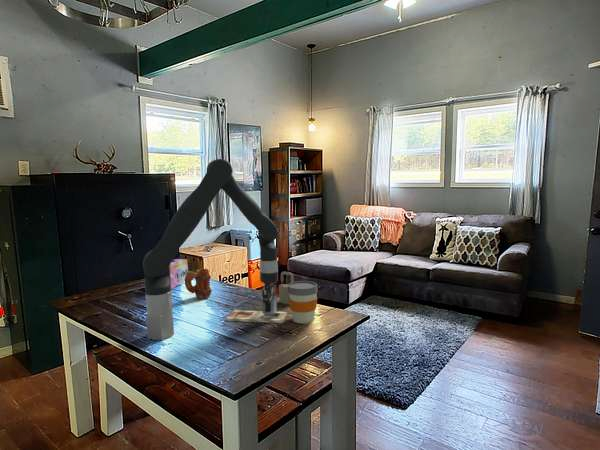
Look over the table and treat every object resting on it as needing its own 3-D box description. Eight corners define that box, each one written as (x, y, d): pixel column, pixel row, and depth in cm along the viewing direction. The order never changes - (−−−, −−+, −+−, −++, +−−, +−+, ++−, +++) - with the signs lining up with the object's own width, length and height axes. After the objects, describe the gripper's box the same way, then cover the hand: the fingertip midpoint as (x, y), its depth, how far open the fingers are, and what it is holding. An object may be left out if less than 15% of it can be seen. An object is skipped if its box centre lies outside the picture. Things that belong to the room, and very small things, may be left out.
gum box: (178, 279, 230) (177, 257, 228) (190, 280, 228) (189, 258, 227) (155, 291, 207) (154, 266, 205) (168, 291, 205) (167, 267, 203)
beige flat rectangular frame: (287, 314, 165) (287, 311, 165) (282, 323, 155) (282, 320, 155) (234, 312, 169) (234, 310, 169) (226, 321, 160) (226, 318, 159)
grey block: (273, 314, 158) (273, 300, 157) (262, 313, 159) (262, 299, 158) (276, 310, 163) (276, 296, 162) (265, 309, 164) (265, 296, 163)
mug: (206, 293, 199) (204, 265, 198) (216, 296, 194) (214, 267, 192) (181, 300, 188) (180, 271, 186) (191, 304, 183) (189, 273, 181)
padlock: (283, 300, 185) (282, 270, 184) (297, 303, 181) (296, 272, 179) (278, 302, 182) (277, 271, 180) (291, 305, 177) (291, 274, 176)
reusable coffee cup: (321, 315, 163) (320, 281, 162) (314, 326, 151) (313, 289, 150) (293, 313, 167) (292, 280, 165) (284, 323, 155) (283, 288, 153)
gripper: (273, 274, 151) (274, 315, 153) (281, 266, 165) (281, 304, 167) (255, 274, 152) (256, 315, 154) (264, 266, 167) (265, 303, 168)
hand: (269, 309), depth 161 cm, fingers closed on grey block, 5 cm apart
